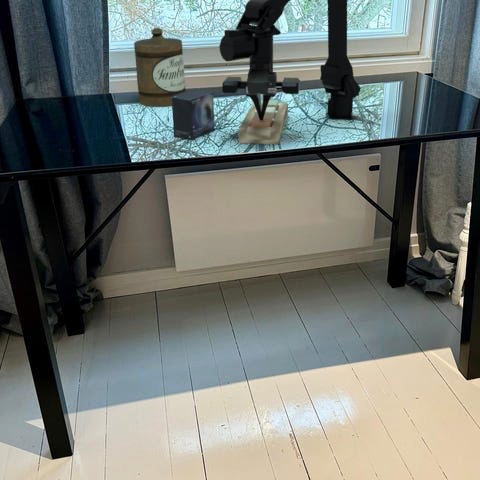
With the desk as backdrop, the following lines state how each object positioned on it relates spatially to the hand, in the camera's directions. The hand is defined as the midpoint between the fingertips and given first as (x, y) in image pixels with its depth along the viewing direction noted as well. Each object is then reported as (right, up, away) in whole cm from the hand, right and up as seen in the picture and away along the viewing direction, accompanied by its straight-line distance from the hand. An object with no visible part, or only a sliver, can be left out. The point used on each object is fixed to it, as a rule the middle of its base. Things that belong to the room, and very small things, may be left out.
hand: (261, 119), depth 142 cm
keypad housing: (+1, 0, +9) cm, 9 cm away
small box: (-17, -2, +6) cm, 19 cm away
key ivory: (+1, +2, +7) cm, 8 cm away
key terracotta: (0, -2, +1) cm, 3 cm away
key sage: (+2, +5, +14) cm, 15 cm away
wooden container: (-30, +14, +37) cm, 49 cm away
